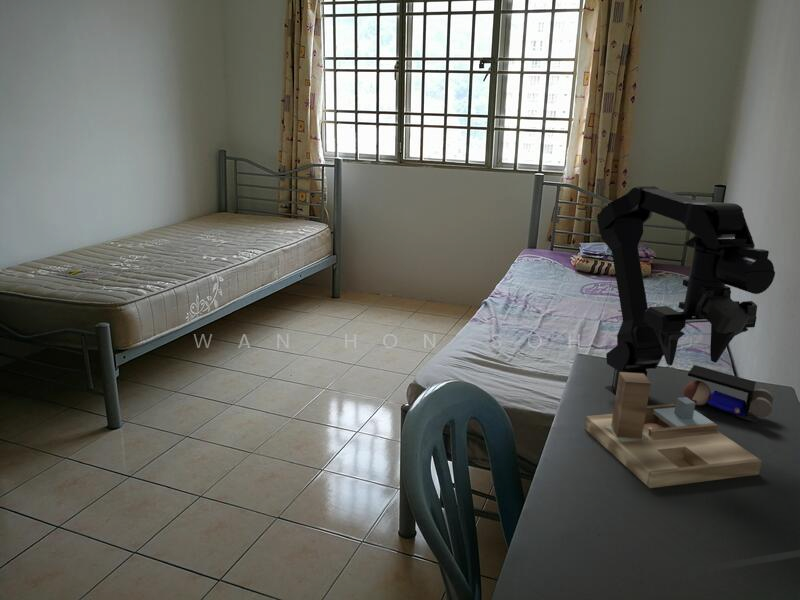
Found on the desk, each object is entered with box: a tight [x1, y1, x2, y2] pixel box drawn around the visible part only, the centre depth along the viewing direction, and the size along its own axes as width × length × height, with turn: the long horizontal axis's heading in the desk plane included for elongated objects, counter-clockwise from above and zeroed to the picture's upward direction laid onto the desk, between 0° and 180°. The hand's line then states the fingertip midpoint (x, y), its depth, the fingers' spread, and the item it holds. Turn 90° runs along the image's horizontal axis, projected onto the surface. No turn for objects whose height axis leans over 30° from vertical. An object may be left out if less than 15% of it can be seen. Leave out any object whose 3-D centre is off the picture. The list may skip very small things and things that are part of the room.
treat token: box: [644, 423, 664, 430], centre depth 113 cm, size 4×4×1 cm
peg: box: [611, 372, 652, 439], centre depth 107 cm, size 4×4×10 cm
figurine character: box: [683, 364, 774, 423], centre depth 124 cm, size 7×8×15 cm
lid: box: [653, 396, 715, 427], centre depth 113 cm, size 7×8×4 cm
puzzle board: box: [584, 403, 762, 489], centre depth 108 cm, size 19×20×4 cm
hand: (691, 363), depth 113 cm, fingers open, 9 cm apart
